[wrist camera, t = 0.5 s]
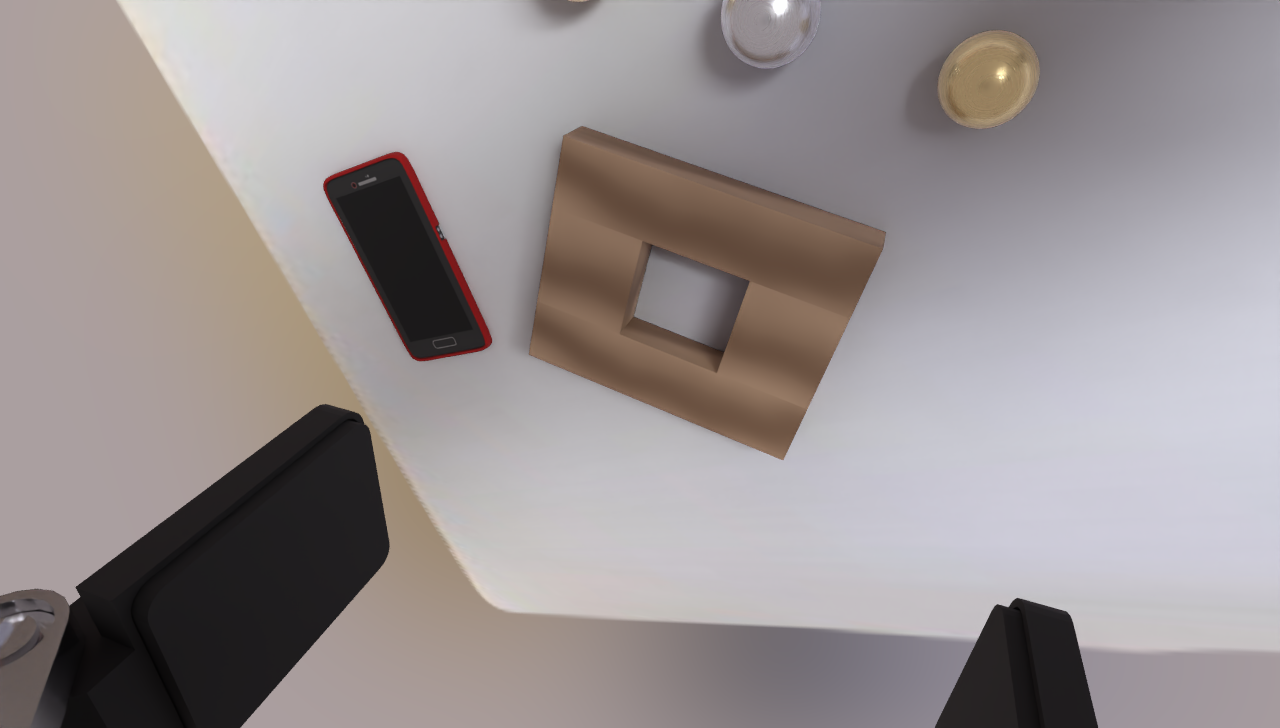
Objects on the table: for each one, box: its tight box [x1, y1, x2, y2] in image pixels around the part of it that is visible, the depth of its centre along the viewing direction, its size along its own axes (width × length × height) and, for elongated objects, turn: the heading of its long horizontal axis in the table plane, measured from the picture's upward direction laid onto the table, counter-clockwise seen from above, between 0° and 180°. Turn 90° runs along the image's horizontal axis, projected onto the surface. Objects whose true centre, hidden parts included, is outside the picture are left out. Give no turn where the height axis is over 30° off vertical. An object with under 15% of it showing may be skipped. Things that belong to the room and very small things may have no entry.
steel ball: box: [721, 0, 821, 69], centre depth 32 cm, size 4×4×4 cm
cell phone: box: [323, 152, 492, 361], centre depth 49 cm, size 8×15×1 cm, turn 20°
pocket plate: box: [529, 126, 886, 460], centre depth 42 cm, size 15×18×2 cm
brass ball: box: [937, 30, 1040, 129], centre depth 30 cm, size 4×4×4 cm
